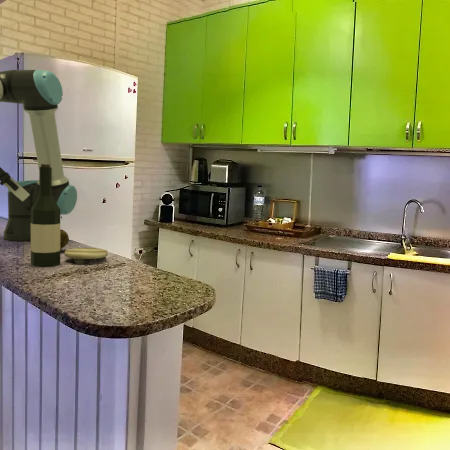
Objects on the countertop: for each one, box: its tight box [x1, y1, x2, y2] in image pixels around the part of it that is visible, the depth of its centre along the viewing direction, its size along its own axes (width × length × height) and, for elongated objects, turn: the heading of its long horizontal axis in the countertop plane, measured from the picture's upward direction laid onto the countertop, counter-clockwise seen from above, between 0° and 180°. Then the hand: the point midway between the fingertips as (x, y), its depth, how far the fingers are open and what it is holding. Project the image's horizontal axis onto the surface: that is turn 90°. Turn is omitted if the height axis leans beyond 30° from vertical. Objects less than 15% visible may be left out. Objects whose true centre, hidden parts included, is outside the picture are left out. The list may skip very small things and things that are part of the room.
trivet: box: [64, 247, 108, 265], centre depth 146 cm, size 13×13×3 cm
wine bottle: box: [30, 164, 61, 268], centre depth 137 cm, size 8×8×30 cm
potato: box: [60, 228, 70, 250], centre depth 160 cm, size 8×13×8 cm, turn 31°
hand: (23, 196), depth 132 cm, fingers open, 13 cm apart
